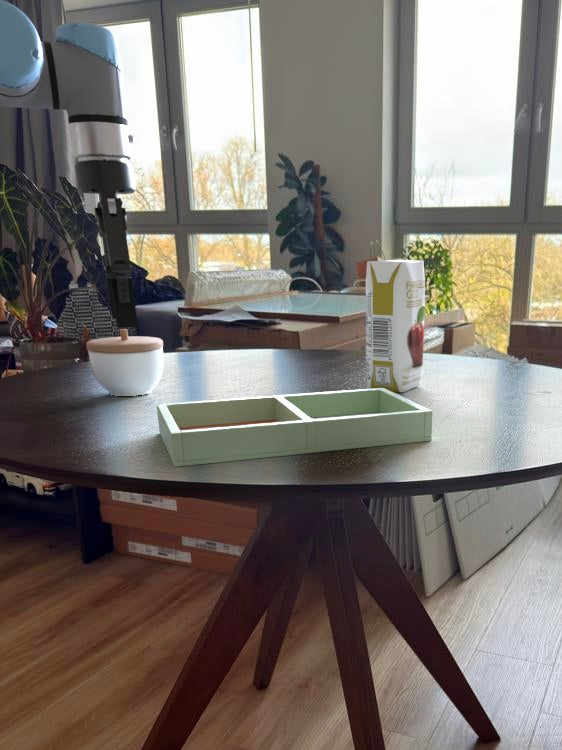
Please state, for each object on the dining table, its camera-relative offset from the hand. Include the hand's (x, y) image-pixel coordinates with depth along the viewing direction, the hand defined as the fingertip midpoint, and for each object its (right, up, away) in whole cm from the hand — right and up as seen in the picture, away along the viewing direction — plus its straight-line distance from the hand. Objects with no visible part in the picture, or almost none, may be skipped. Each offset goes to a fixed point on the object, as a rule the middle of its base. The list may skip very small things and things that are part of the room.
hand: (124, 322), depth 105 cm
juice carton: (+40, -8, +9) cm, 41 cm away
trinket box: (0, -10, +4) cm, 11 cm away
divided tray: (+27, -19, -20) cm, 39 cm away
